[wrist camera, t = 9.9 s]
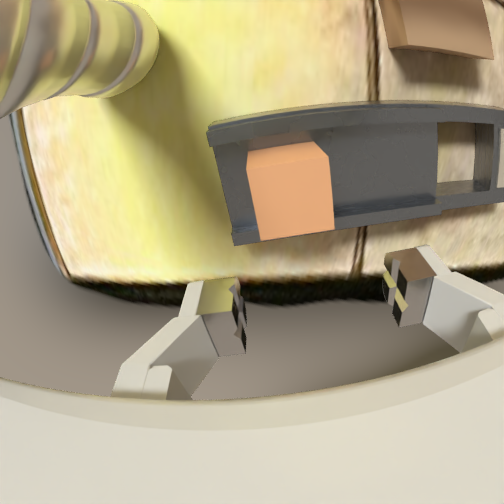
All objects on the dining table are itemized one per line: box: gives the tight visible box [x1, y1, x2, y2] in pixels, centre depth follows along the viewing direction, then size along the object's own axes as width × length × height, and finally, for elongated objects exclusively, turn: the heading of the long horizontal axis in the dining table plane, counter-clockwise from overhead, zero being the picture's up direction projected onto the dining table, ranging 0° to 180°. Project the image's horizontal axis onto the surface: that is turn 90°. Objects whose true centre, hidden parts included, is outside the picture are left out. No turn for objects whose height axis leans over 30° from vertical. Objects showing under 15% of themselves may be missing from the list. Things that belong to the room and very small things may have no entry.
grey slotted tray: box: [206, 100, 504, 246], centre depth 18 cm, size 8×24×4 cm, turn 101°
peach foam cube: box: [246, 141, 335, 241], centre depth 16 cm, size 4×4×4 cm
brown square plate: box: [379, 0, 494, 60], centre depth 11 cm, size 8×8×3 cm
